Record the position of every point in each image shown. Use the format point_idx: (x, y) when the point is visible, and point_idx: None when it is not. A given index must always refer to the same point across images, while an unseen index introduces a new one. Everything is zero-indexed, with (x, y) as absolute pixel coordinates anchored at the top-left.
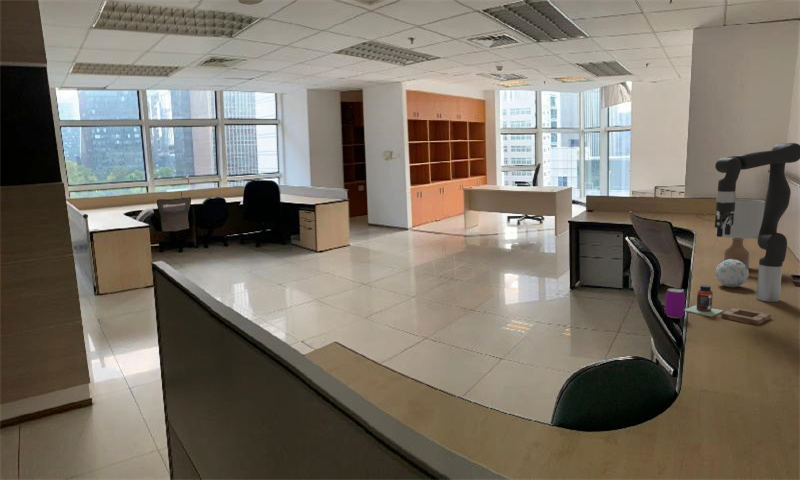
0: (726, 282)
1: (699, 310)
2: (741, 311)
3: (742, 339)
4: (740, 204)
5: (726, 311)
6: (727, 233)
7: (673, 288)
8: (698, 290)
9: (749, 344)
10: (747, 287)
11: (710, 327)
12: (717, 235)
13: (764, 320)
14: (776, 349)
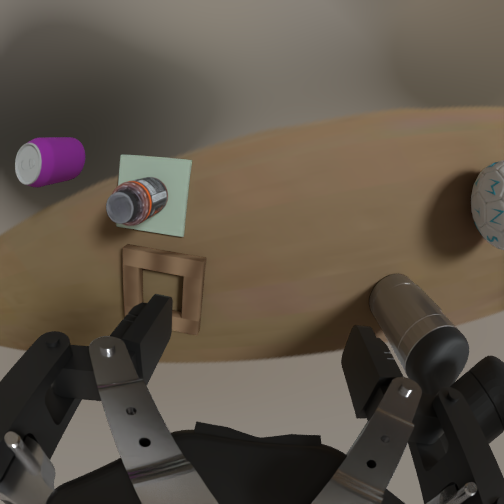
0: (472, 192)
1: None
2: (184, 279)
3: (43, 299)
4: None
5: (146, 253)
6: (348, 352)
7: (36, 150)
8: (119, 186)
9: (35, 309)
10: None
11: (55, 244)
12: (142, 304)
13: None
14: None
